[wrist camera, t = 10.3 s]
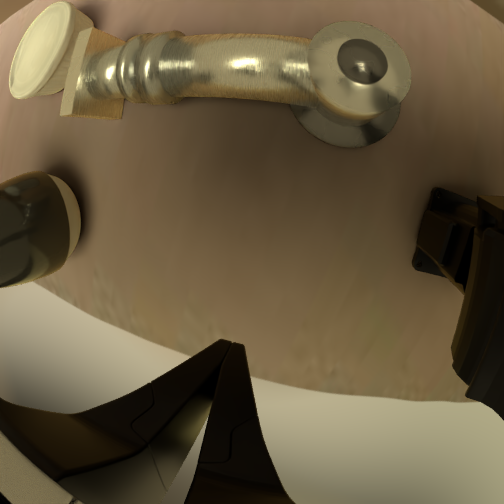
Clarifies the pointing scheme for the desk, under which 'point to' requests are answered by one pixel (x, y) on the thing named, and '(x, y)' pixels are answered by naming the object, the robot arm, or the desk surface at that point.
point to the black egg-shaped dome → (36, 227)
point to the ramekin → (47, 51)
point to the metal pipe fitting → (123, 87)
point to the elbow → (280, 70)
